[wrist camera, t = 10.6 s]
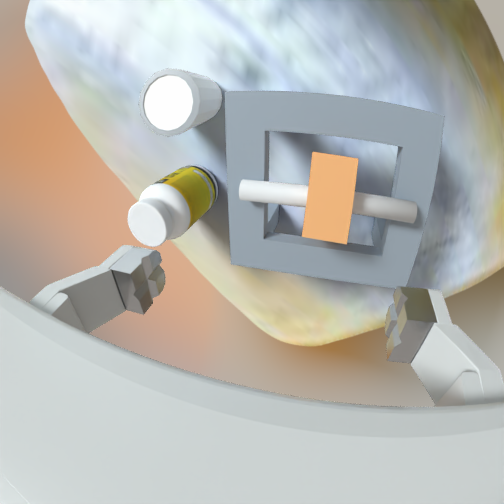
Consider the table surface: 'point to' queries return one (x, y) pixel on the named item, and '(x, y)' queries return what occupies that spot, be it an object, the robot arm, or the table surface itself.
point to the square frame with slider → (274, 193)
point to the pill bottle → (172, 205)
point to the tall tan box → (330, 197)
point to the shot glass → (178, 101)
